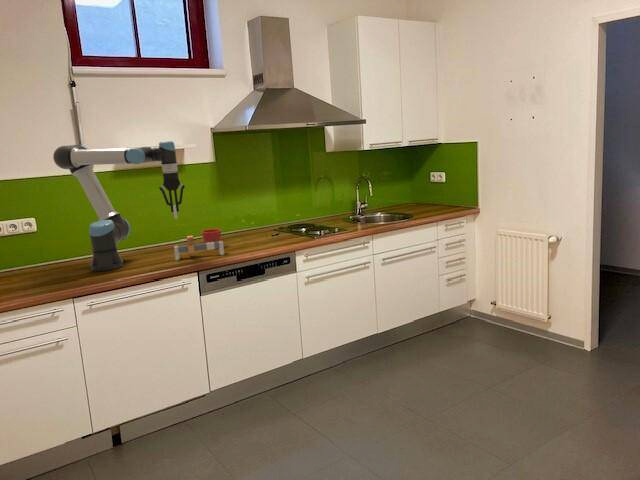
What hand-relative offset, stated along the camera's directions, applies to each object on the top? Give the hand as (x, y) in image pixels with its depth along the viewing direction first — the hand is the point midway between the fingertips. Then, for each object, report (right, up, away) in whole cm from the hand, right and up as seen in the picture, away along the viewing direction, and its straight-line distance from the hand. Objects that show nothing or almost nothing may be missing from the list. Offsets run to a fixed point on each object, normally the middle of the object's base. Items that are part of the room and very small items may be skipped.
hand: (175, 218), depth 275 cm
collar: (+7, -19, +5) cm, 21 cm away
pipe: (+11, -20, +7) cm, 24 cm away
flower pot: (+13, -16, +29) cm, 35 cm away
